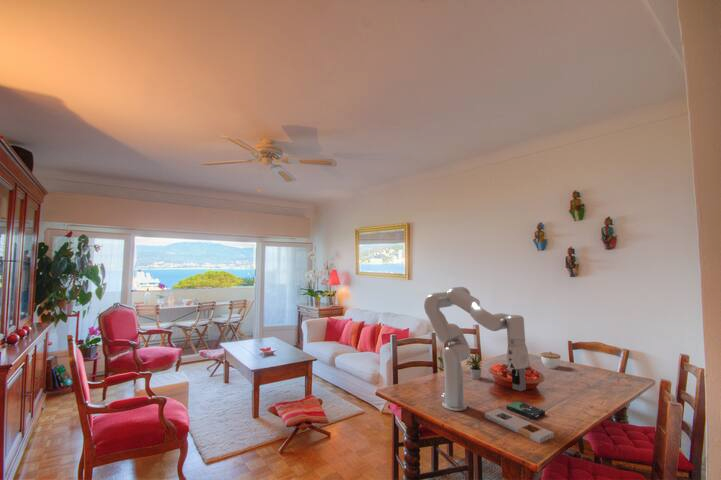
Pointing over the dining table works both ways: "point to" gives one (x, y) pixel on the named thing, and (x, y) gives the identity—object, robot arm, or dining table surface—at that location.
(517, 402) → the disk drive
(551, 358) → the lidded bowl
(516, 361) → the robot arm
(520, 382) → the steel block
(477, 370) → the house plant
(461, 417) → the dining table surface
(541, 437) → the grey slotted board
